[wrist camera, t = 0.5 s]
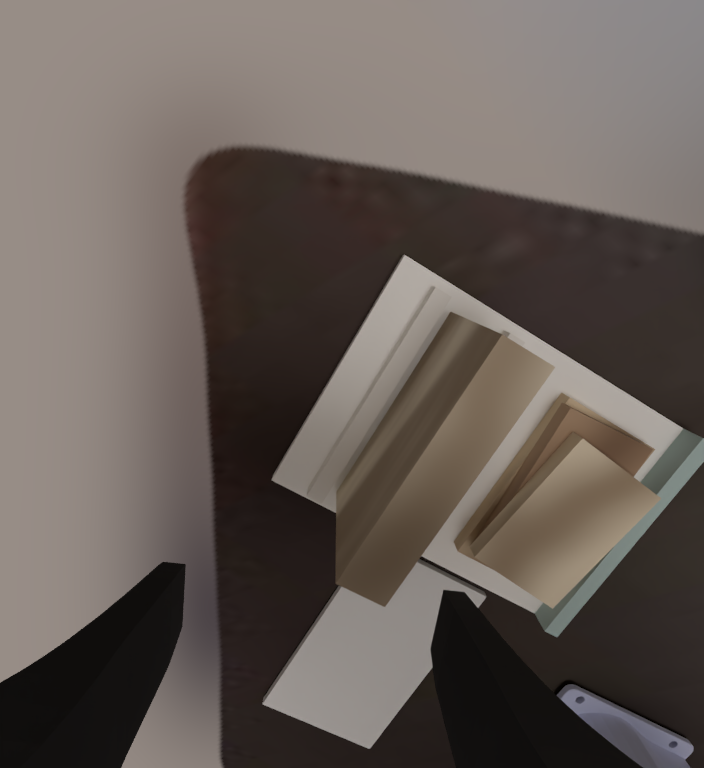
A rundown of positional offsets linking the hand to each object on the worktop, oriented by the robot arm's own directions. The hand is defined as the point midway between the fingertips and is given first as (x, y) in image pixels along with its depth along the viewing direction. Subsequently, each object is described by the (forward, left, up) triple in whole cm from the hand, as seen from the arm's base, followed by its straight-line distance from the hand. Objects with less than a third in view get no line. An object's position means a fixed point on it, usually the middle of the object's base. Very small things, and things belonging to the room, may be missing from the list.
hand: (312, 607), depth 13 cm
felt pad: (-8, +8, -10) cm, 15 cm away
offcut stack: (-10, -4, -9) cm, 14 cm away
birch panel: (-2, -4, -9) cm, 10 cm away
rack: (-7, -4, -10) cm, 13 cm away
